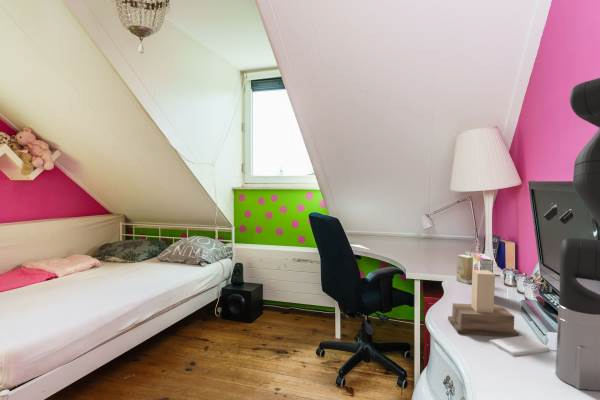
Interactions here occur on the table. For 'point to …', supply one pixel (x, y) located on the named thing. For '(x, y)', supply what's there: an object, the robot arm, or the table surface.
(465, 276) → the skincare box
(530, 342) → the external hard drive
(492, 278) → the tan carton
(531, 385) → the table surface
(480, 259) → the candy bar box
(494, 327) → the podium
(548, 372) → the table surface
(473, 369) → the table surface
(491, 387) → the table surface
